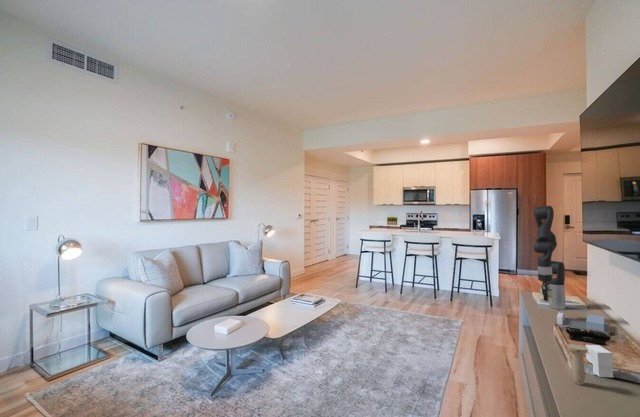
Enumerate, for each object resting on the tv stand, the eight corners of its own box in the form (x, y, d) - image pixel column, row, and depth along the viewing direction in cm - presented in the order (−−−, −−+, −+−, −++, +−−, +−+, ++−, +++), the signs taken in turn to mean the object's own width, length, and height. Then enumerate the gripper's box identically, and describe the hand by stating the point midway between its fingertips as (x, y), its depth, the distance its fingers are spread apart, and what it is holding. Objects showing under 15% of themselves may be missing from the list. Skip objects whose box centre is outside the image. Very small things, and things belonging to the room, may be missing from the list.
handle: (590, 388, 121) (588, 351, 121) (570, 384, 124) (568, 347, 124) (588, 382, 125) (586, 346, 125) (568, 378, 128) (566, 343, 129)
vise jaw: (587, 320, 186) (587, 313, 186) (604, 323, 181) (604, 316, 181) (586, 328, 175) (586, 321, 175) (604, 331, 169) (603, 324, 170)
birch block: (541, 300, 198) (540, 287, 198) (552, 301, 193) (552, 289, 194) (540, 301, 195) (539, 289, 195) (551, 303, 191) (551, 290, 191)
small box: (614, 378, 127) (612, 353, 128) (598, 377, 129) (597, 352, 129) (600, 368, 135) (599, 344, 135) (586, 367, 136) (585, 344, 137)
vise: (558, 318, 196) (557, 309, 196) (609, 327, 180) (608, 317, 180) (555, 325, 185) (554, 316, 185) (609, 335, 168) (608, 325, 168)
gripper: (539, 270, 202) (540, 296, 202) (535, 274, 192) (537, 301, 192) (553, 271, 197) (555, 298, 197) (550, 275, 186) (552, 303, 186)
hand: (546, 299), depth 194 cm, fingers closed on birch block, 4 cm apart
